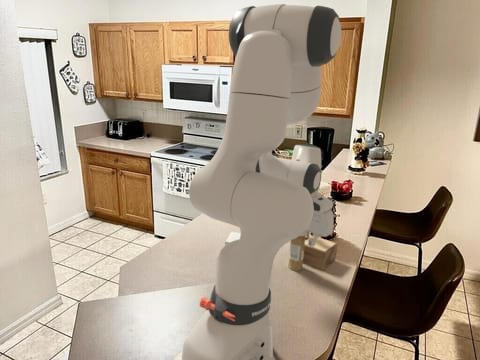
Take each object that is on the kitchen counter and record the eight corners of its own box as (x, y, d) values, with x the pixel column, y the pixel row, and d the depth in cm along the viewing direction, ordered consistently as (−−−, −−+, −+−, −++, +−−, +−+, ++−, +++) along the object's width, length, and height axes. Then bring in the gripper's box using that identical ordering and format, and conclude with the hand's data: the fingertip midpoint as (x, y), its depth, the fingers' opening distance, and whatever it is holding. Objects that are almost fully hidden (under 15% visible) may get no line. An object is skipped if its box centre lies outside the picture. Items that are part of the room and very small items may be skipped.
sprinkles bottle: (305, 268, 113) (309, 228, 109) (294, 272, 110) (298, 231, 107) (295, 262, 116) (299, 223, 113) (284, 265, 114) (288, 226, 110)
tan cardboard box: (323, 270, 112) (325, 252, 111) (298, 260, 118) (299, 243, 116) (335, 260, 119) (337, 243, 118) (310, 251, 125) (312, 235, 123)
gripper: (267, 192, 111) (264, 233, 115) (329, 208, 99) (323, 254, 103) (278, 188, 116) (275, 228, 119) (338, 203, 104) (332, 247, 107)
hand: (297, 240), depth 111 cm, fingers open, 8 cm apart
